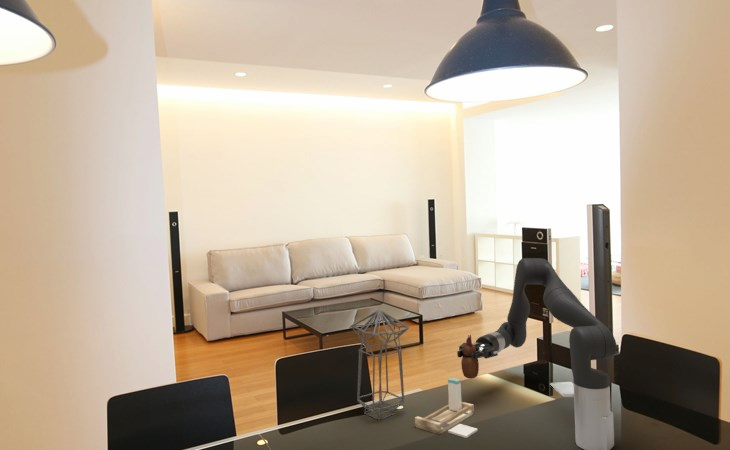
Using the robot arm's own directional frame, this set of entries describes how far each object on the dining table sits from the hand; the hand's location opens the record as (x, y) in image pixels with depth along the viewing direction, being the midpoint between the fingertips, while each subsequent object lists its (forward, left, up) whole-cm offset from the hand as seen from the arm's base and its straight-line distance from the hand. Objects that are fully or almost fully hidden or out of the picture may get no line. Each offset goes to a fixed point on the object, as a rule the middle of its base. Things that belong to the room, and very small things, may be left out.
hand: (465, 355), depth 175 cm
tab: (0, +7, -16) cm, 18 cm away
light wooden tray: (0, +13, -18) cm, 22 cm away
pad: (-9, +17, -18) cm, 26 cm away
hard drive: (-21, -35, -18) cm, 44 cm away
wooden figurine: (0, -3, -8) cm, 9 cm away
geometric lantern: (+19, +21, -18) cm, 34 cm away
